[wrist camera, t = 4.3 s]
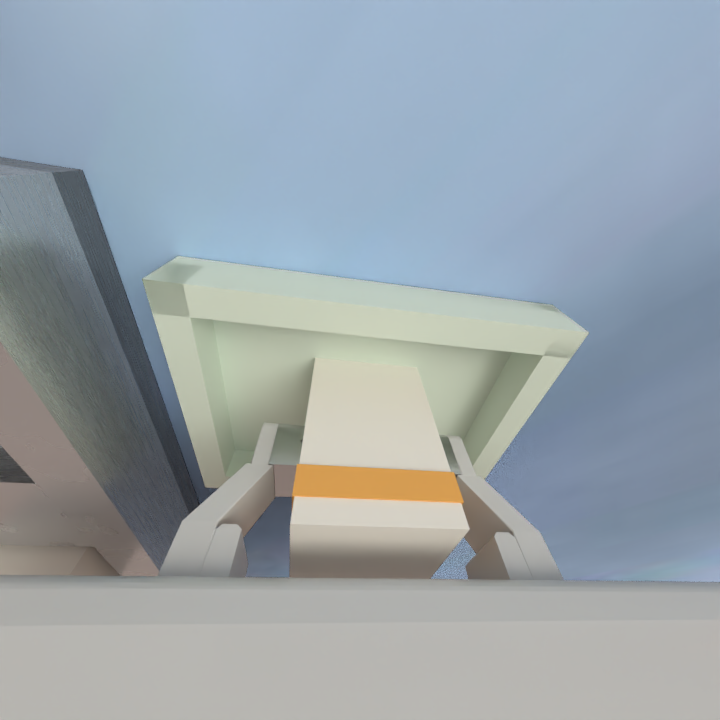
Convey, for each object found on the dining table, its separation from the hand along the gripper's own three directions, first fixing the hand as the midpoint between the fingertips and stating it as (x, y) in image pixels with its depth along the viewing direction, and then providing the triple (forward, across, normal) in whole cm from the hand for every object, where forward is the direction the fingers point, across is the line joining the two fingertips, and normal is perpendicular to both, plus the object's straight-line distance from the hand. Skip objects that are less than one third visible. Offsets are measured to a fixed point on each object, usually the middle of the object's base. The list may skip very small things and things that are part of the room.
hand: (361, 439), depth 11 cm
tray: (+3, 0, 0) cm, 3 cm away
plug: (+2, 0, 0) cm, 2 cm away
